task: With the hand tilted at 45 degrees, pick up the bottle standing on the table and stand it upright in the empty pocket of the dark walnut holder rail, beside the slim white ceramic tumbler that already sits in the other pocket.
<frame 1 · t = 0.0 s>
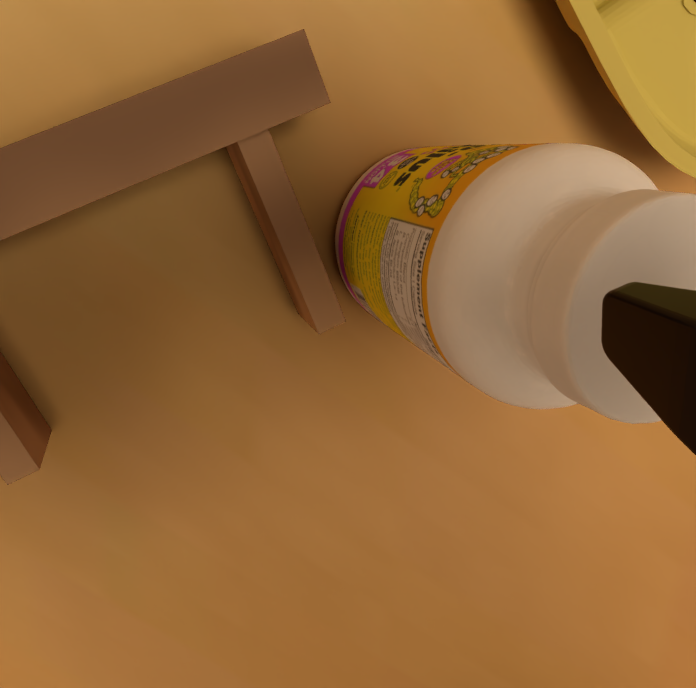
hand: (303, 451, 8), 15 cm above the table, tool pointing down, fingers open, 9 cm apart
walnut holder rail: (153, 321, 22), on the table
supplement bottle: (410, 237, 24), on the table
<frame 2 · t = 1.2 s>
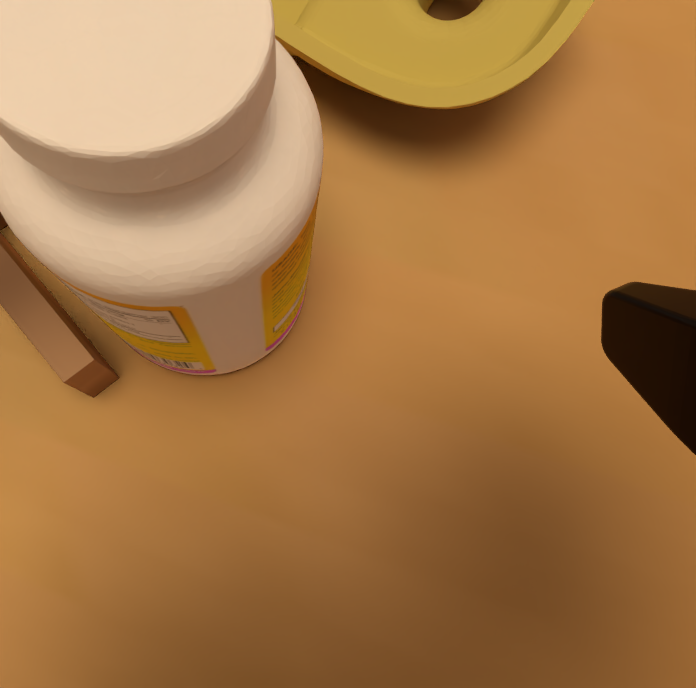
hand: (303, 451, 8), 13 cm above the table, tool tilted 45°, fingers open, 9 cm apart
supplement bottle: (208, 285, 22), on the table
when the fingers open (8 cm above the table, at t = 7.9 s): supplement bottle drops 1 cm, on the table.
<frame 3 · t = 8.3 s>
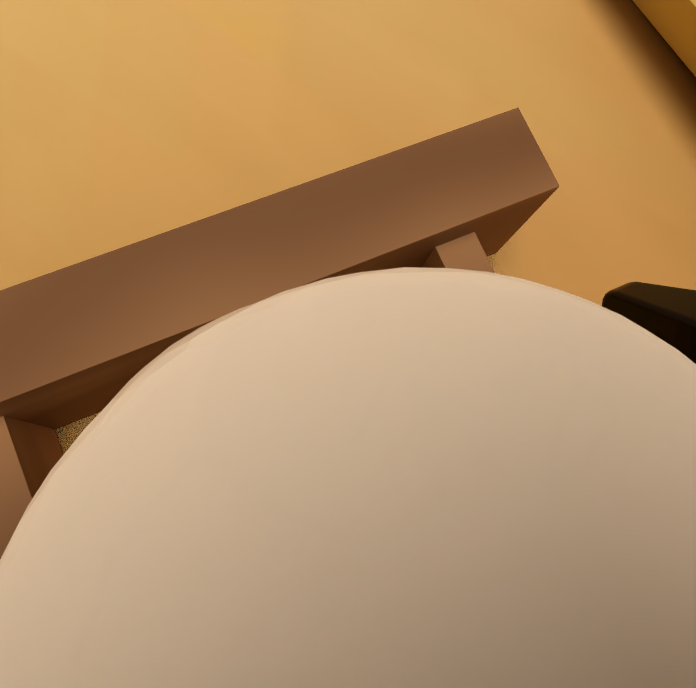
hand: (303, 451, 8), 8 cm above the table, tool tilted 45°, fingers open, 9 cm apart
walnut holder rail: (311, 522, 15), on the table
supplement bottle: (314, 531, 16), on the table
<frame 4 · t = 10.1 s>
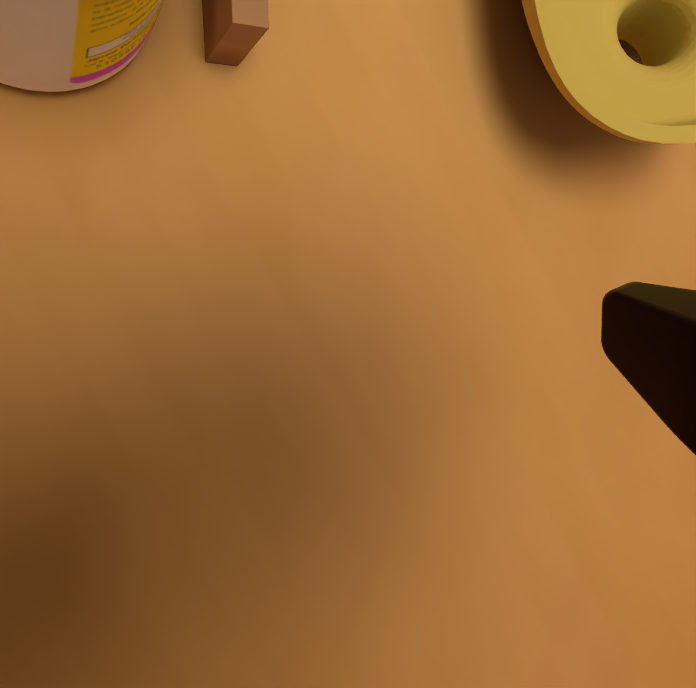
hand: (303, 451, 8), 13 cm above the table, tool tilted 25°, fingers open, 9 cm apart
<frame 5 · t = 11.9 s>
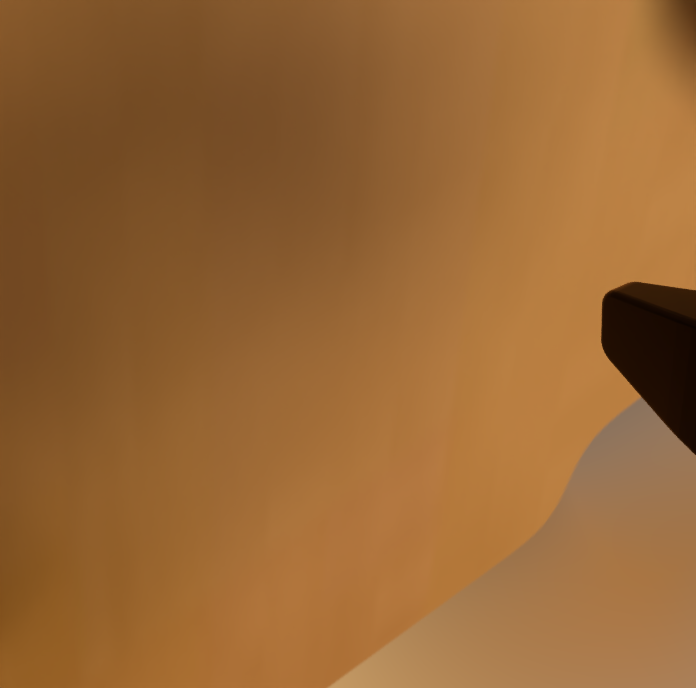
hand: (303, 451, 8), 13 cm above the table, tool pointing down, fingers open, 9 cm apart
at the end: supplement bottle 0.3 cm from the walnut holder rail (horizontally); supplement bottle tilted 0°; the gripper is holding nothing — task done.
